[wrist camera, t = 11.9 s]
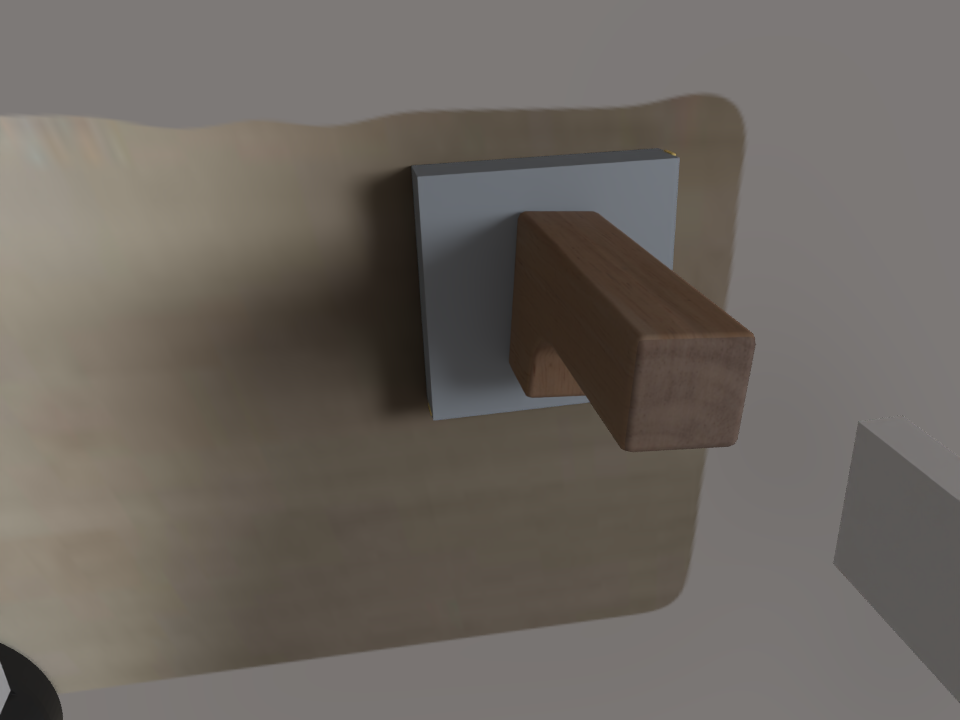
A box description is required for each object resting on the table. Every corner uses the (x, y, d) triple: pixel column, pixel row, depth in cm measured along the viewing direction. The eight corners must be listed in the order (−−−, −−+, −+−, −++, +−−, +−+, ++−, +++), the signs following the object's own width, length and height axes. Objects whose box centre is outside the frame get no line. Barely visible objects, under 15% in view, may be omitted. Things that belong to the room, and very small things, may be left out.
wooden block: (582, 363, 48) (720, 553, 31) (506, 365, 47) (607, 562, 31) (598, 209, 44) (762, 334, 28) (516, 209, 43) (636, 338, 27)
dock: (426, 399, 50) (432, 422, 47) (410, 164, 44) (416, 175, 42) (648, 374, 52) (666, 395, 50) (661, 147, 46) (682, 156, 44)
